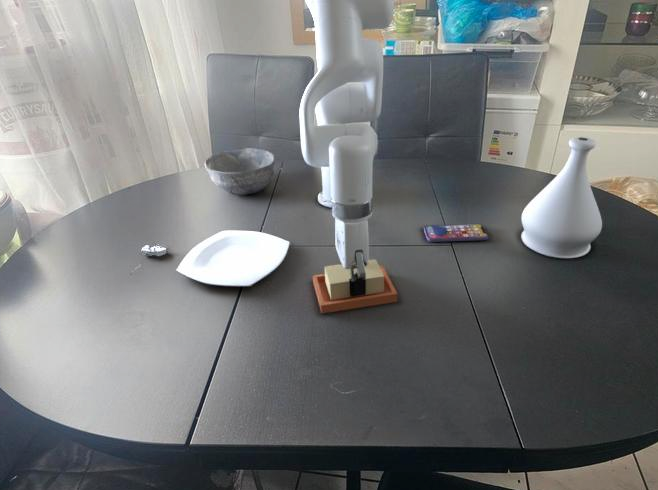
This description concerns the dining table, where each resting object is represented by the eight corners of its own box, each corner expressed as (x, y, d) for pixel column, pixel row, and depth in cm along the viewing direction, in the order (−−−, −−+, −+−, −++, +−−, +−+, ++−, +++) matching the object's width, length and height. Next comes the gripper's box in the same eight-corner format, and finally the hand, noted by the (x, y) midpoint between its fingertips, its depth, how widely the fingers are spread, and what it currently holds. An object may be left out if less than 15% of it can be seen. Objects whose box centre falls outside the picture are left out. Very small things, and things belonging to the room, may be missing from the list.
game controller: (170, 247, 110) (168, 238, 109) (156, 274, 101) (153, 265, 99) (147, 248, 110) (144, 239, 109) (130, 275, 101) (127, 266, 99)
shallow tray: (313, 283, 97) (312, 275, 95) (382, 273, 99) (382, 265, 98) (321, 313, 88) (320, 305, 87) (397, 301, 90) (397, 293, 89)
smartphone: (422, 228, 115) (480, 226, 115) (427, 242, 109) (489, 240, 109) (423, 225, 114) (481, 223, 115) (428, 239, 108) (489, 237, 108)
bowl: (260, 208, 127) (256, 175, 121) (197, 201, 132) (190, 169, 126) (288, 180, 143) (285, 149, 138) (231, 174, 148) (226, 145, 143)
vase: (504, 228, 114) (523, 130, 100) (565, 220, 117) (593, 123, 102) (542, 265, 100) (571, 157, 86) (611, 254, 103) (650, 148, 88)
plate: (255, 300, 92) (253, 293, 91) (163, 280, 99) (161, 273, 98) (302, 245, 110) (301, 238, 108) (222, 231, 117) (220, 225, 115)
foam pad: (325, 282, 94) (324, 266, 92) (375, 274, 96) (375, 259, 94) (330, 300, 89) (329, 284, 87) (383, 292, 91) (384, 276, 89)
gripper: (324, 189, 89) (328, 264, 99) (341, 230, 75) (344, 313, 85) (360, 185, 90) (361, 260, 100) (384, 225, 76) (382, 307, 86)
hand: (353, 283), depth 92 cm, fingers closed on foam pad, 6 cm apart
